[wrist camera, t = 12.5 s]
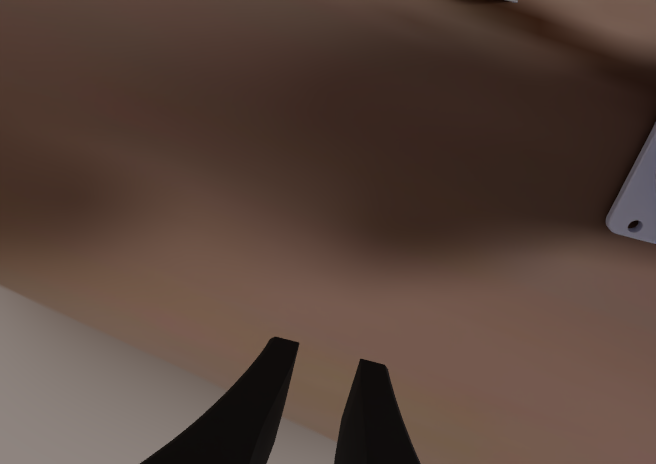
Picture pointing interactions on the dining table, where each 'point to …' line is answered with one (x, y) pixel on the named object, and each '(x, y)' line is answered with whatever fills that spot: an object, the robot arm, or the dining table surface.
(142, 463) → the robot arm
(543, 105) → the dining table surface
